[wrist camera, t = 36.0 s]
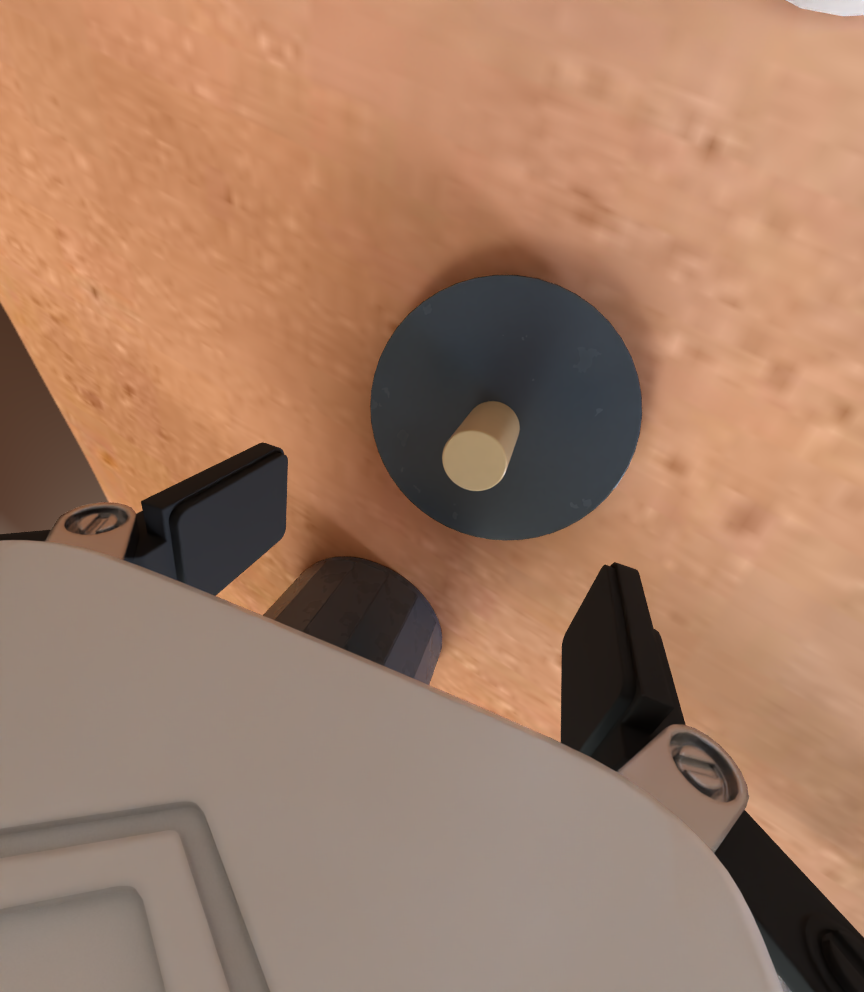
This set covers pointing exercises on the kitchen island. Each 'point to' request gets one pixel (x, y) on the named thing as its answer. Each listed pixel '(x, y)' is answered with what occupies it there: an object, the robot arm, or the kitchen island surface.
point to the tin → (364, 614)
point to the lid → (506, 407)
